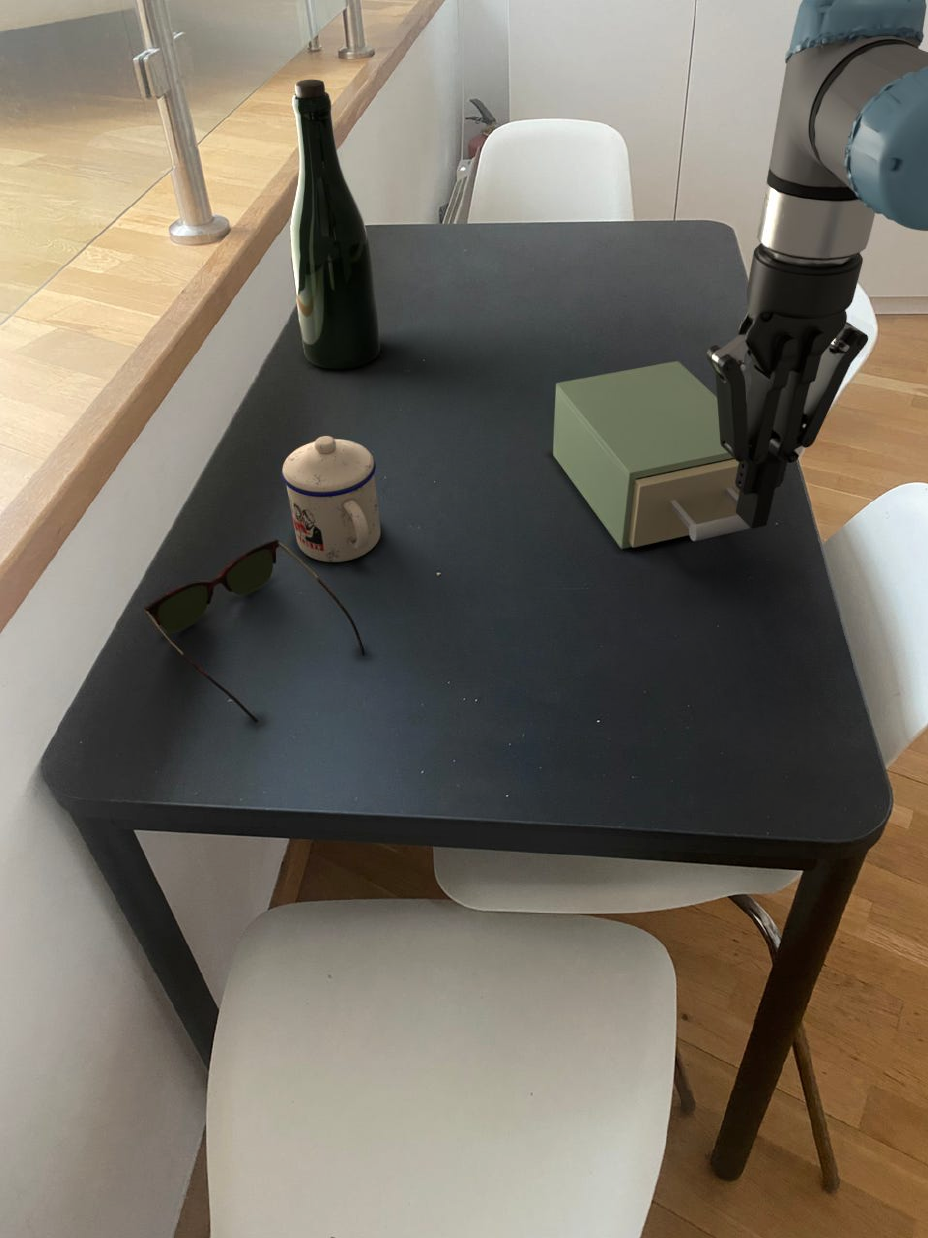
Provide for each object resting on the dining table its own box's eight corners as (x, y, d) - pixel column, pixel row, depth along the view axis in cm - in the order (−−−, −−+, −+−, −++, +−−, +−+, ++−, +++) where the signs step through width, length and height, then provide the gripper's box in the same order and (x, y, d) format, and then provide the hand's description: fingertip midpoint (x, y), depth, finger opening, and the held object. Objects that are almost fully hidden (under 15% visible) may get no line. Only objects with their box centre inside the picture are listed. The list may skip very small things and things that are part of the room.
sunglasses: (283, 573, 91) (277, 534, 88) (378, 656, 84) (376, 618, 80) (153, 644, 84) (141, 605, 80) (244, 742, 77) (235, 704, 73)
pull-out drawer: (783, 553, 90) (800, 491, 85) (659, 583, 87) (668, 521, 82) (673, 435, 106) (681, 378, 101) (565, 457, 103) (568, 399, 99)
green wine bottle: (361, 377, 121) (329, 95, 99) (291, 365, 124) (244, 89, 101) (393, 342, 128) (370, 72, 106) (326, 332, 131) (290, 67, 109)
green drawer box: (750, 520, 95) (767, 444, 89) (621, 549, 92) (629, 472, 86) (668, 431, 109) (677, 360, 102) (552, 455, 106) (555, 382, 99)
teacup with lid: (282, 529, 97) (262, 432, 89) (360, 502, 100) (348, 406, 92) (327, 593, 89) (310, 492, 81) (411, 562, 92) (402, 462, 84)
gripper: (856, 218, 70) (791, 482, 85) (701, 242, 67) (664, 510, 83) (921, 252, 64) (840, 527, 80) (756, 279, 61) (705, 558, 77)
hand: (750, 518), depth 81 cm, fingers closed
